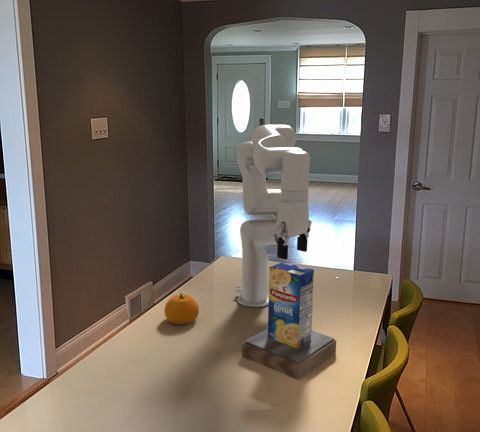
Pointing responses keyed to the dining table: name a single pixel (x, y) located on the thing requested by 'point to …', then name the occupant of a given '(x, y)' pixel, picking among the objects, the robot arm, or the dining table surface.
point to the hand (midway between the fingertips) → (292, 254)
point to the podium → (289, 353)
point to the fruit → (181, 309)
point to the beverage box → (290, 304)
